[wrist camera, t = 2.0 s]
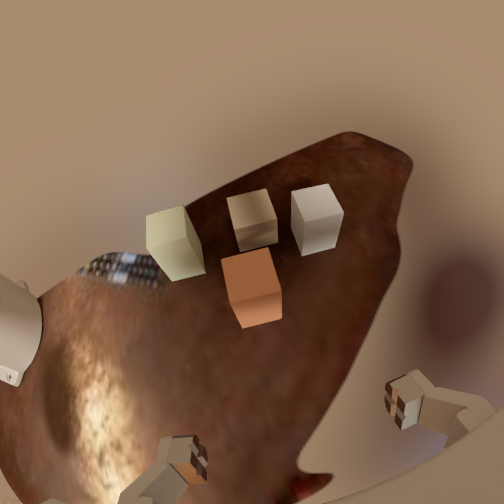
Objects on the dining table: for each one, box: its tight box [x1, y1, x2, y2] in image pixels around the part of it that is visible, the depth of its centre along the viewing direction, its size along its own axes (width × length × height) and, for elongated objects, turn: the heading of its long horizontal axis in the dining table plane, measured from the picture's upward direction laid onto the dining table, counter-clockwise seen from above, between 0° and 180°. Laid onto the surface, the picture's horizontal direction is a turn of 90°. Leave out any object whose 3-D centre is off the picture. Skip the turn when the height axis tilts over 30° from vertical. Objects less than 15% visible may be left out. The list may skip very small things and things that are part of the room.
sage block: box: [146, 205, 206, 281], centre depth 32 cm, size 4×4×8 cm
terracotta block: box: [221, 247, 282, 328], centre depth 28 cm, size 4×4×8 cm
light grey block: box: [291, 184, 344, 256], centre depth 32 cm, size 4×4×7 cm
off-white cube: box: [227, 189, 278, 252], centre depth 35 cm, size 5×5×5 cm
